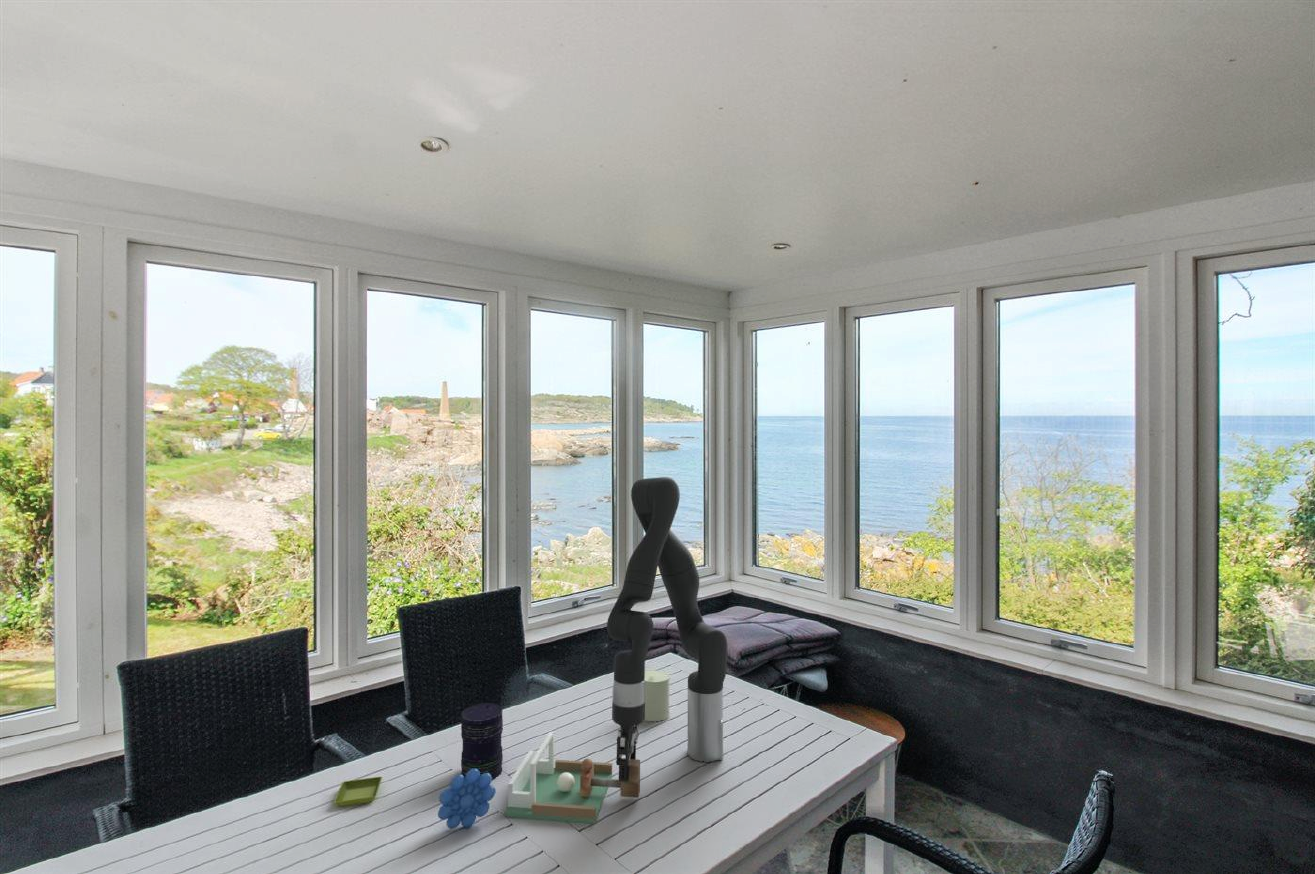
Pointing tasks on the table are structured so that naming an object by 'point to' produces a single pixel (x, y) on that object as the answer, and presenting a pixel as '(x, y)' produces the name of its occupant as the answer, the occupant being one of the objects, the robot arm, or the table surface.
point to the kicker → (610, 780)
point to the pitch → (554, 789)
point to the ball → (565, 782)
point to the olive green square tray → (357, 791)
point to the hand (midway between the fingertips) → (627, 770)
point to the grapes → (466, 799)
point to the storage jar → (482, 739)
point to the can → (656, 695)
